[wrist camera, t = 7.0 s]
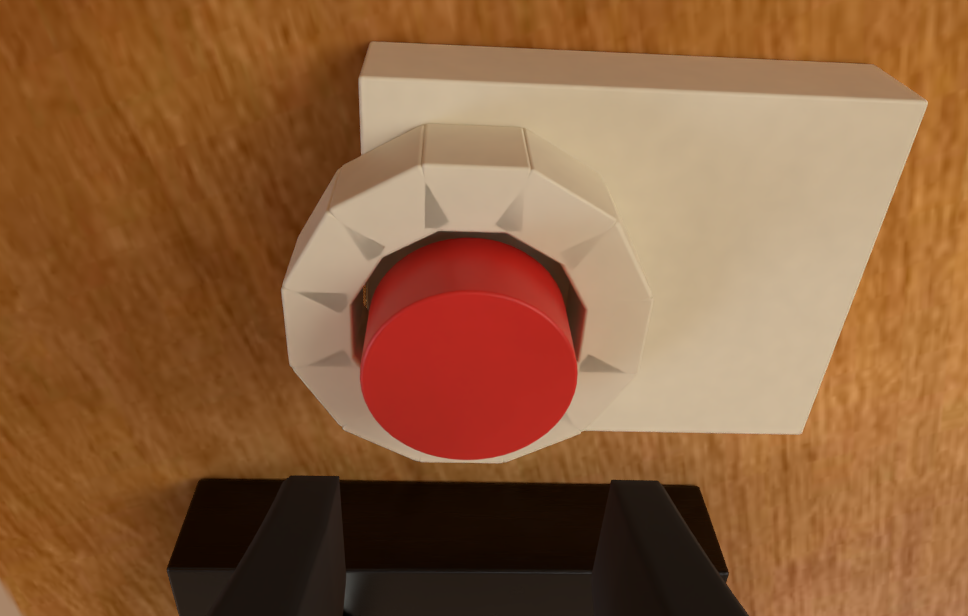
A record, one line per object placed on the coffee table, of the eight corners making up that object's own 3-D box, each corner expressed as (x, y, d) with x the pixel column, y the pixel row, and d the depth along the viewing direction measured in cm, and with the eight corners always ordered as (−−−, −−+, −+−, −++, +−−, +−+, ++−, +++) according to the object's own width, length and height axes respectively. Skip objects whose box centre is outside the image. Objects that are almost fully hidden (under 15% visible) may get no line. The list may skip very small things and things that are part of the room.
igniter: (328, 366, 19) (302, 487, 16) (303, 36, 15) (260, 110, 12) (770, 376, 20) (833, 494, 17) (874, 63, 16) (989, 139, 12)
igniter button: (371, 395, 15) (362, 459, 14) (365, 232, 13) (355, 288, 12) (554, 399, 15) (564, 463, 14) (577, 239, 13) (591, 294, 12)
